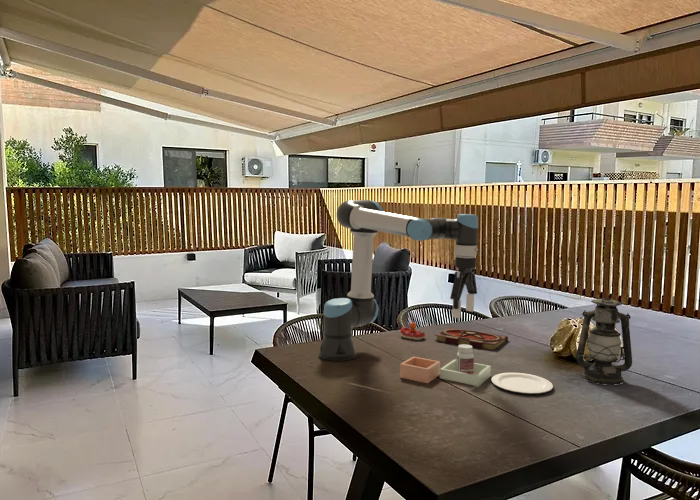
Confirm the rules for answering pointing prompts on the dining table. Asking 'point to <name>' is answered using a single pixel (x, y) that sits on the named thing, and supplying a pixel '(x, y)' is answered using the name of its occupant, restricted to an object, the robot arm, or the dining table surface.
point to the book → (471, 338)
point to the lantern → (604, 343)
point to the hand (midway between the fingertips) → (463, 314)
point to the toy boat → (412, 332)
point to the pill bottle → (465, 359)
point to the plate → (522, 383)
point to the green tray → (466, 374)
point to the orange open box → (420, 369)
